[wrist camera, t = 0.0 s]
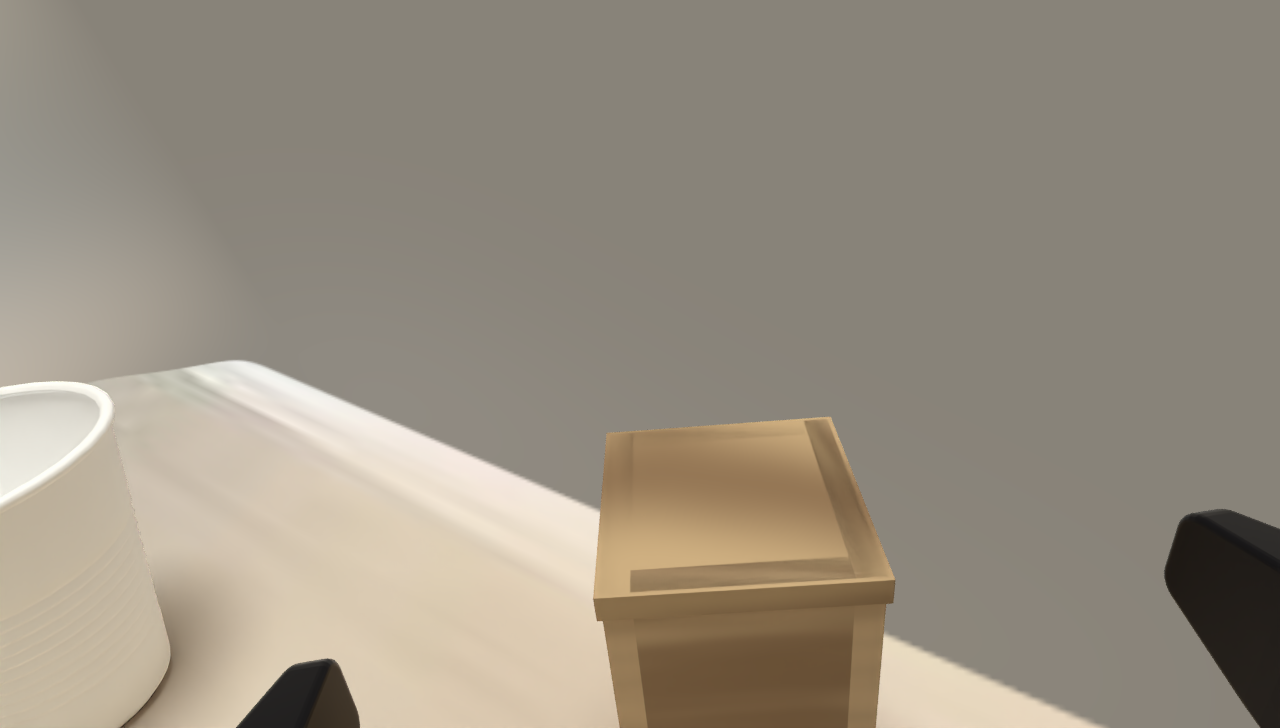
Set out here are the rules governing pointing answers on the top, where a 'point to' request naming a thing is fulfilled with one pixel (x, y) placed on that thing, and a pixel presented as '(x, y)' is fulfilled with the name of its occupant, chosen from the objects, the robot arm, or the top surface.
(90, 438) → the cup
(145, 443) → the top surface
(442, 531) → the top surface
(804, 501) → the small crate
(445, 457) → the top surface
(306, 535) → the top surface
